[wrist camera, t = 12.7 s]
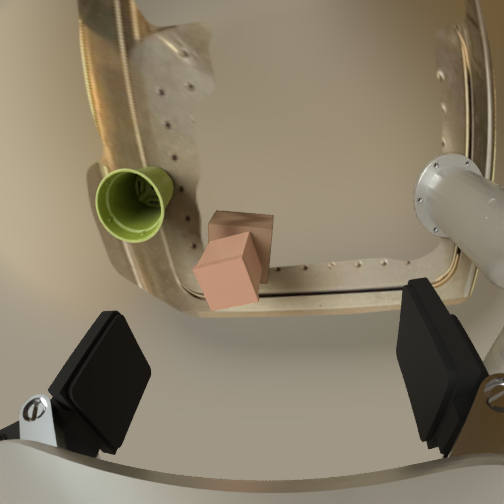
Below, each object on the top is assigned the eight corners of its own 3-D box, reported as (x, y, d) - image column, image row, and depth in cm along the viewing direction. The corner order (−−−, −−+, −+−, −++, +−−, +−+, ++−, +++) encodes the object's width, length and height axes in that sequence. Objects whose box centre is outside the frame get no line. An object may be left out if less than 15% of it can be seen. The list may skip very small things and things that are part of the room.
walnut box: (273, 215, 43) (272, 229, 39) (269, 265, 47) (267, 283, 43) (216, 210, 44) (208, 223, 39) (216, 260, 48) (208, 278, 43)
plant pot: (185, 220, 45) (165, 246, 37) (127, 215, 45) (99, 239, 38) (185, 156, 41) (162, 170, 33) (124, 154, 41) (92, 168, 33)
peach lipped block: (250, 229, 39) (242, 257, 33) (263, 268, 42) (258, 301, 35) (208, 240, 41) (192, 269, 34) (223, 277, 43) (211, 310, 36)
